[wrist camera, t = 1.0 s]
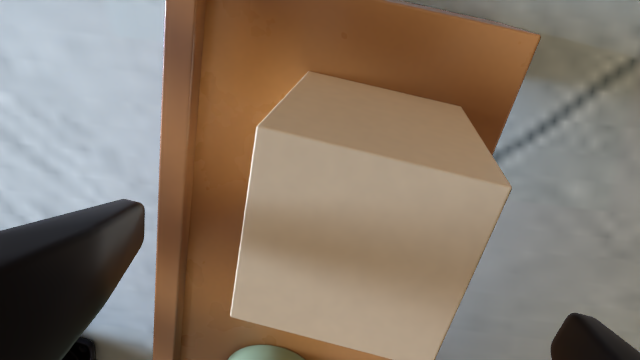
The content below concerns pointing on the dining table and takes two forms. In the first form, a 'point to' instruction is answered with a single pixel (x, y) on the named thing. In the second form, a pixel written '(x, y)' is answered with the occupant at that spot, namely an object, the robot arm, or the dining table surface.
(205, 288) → the shelf
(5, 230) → the robot arm
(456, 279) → the cream block
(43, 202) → the dining table surface
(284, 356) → the ceramic canister
